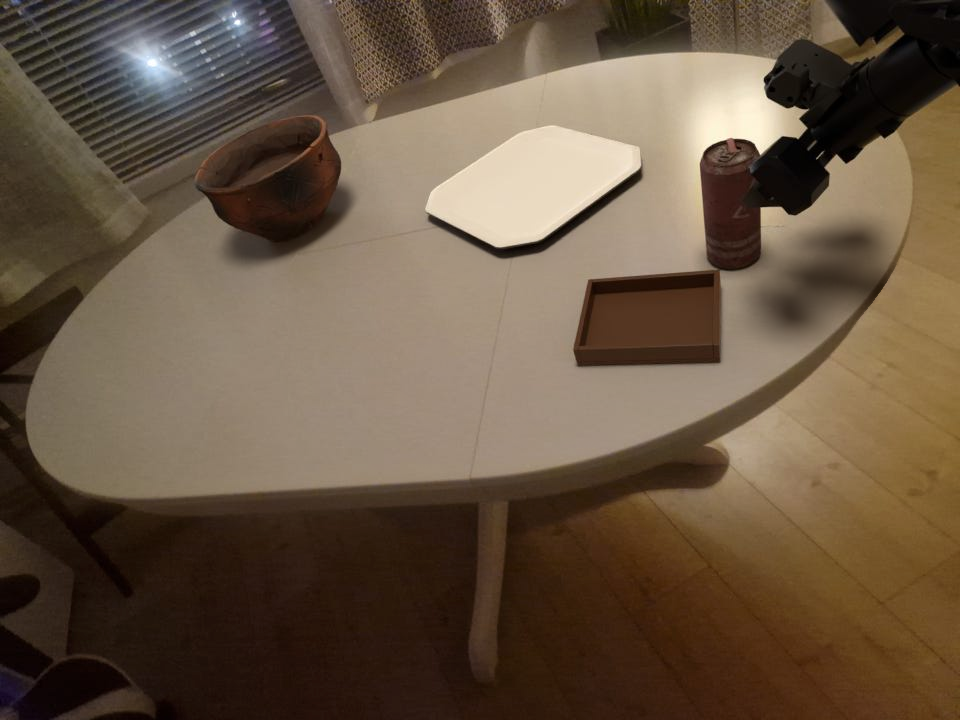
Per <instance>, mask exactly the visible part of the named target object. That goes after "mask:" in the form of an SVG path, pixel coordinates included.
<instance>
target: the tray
mask: <svg viewBox="0 0 960 720" xmlns="http://www.w3.org/2000/svg"><path fill="white" fill-rule="evenodd" d="M721 283H722V282H721V269H708V270H695V271H692V270H691V271H679V272H668V273H666V272H665V273H655V274H642V275H641V274H639V275H629V276H615V277H603V278H590V279H587V283H586V288H585V293H584V298H583V302H582V307H581V312H580V316H579V319H578V324H577V330H576V333H575V340H574V343H573V349H572V352H573V355H574V358H575V361H576V365H577V366H581V367H582V366H616V365H619V366H620V365H659V364H660V365H661V364H695V363H696V364H697V363H699V364H701V363H720V362H721V329H722V328H721V324H722V323H721V322H722V321H721V319H722V318H721V315H722V314H721V313H722V311H721V310H722V284H721Z"/></svg>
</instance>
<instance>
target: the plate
mask: <svg viewBox="0 0 960 720" xmlns="http://www.w3.org/2000/svg"><path fill="white" fill-rule="evenodd" d="M641 153H642V152H641V148H640V147H639V146H637V145H634V144H629V143H626V142H620V141H619V140H618V141H617V140H613V139H609V138H606V137H602V136H597V135H595V134H590V133H586V132H582V131H578V130H575V129H571V128H567V127H564V126H563V127H562V126H559V125H554V124H551V125H545V126H541V127H537V128H532V129H528V130H524V131H520V132H518V133H517V134H515V135H513V136H512V137H511V138H509V139H508V140H506V141H505V142H503V143H502V144H500V145H498V146H497V147H495V148H494V149H492V150H490V151H489V152H488V153H486V154H484V155H483V156H482V157H480V158H478V159H477V160H475V161H474V162H473V163H471V164H469V165H468V166H466V167H465V168H463V169H462V170H460V171H458V172H457V173H455V174H454V175H452V176H451V177H449V178H448V179H447V180H445V181H443V182H442V183H440V184H439V185H437V186H436V187H434V188H433V189H432V190H431V192H430V193H429V197H428V200H427V202H426V204H425V208H424V210H425V213H426V214H427V215H429V216H431V217H434V218H435V219H437V220H439V221H441V222H443V223H445V224H447V225H448V226H451V227H453V228H455V229H457V230H459V231H461V232H463V233H465V234H467V235H468V236H471V237H473V238H474V239H477V240H479V241H480V242H483V243H484V244H486V245H488V246H490V247H492V248H494V249H496V250H506V249H512V248H516V247H524V246H530V245H534V244H539V243H542V242H544V241H545V240H546V239H548V238H549V237H550V236H552V235H553V234H555V233H556V232H557V231H559V230H560V229H562V228H563V227H564V226H566V225H567V224H569V222H572V221H573V220H574V219H576V217H578V216H579V215H581V214H582V213H584V212H585V211H586V210H588V209H589V208H591V207H592V206H593V205H594V204H596V203H597V202H599V201H600V200H602V199H603V198H604V197H606V196H607V195H609V194H610V193H612V191H614V190H615V189H616V188H618V187H619V186H621V185H622V184H624V183H625V182H626V181H628V180H629V179H631V177H633V176H635V175H636V174H637V173H639V172H640V170H641V169H642V167H643V166H642V154H641Z"/></svg>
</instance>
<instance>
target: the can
mask: <svg viewBox="0 0 960 720" xmlns="http://www.w3.org/2000/svg"><path fill="white" fill-rule="evenodd" d="M760 155H761V153H760V151H759V149H758V147H757V146H756V143H754V142H753V141H752V140H749V139H745V138H733V137H729V138H726V139H724V140H719V141H716V142H715V143H712V144H711V145H709V146H707V148H706V149H705V150H704V151H703V153H702V156H701V158H700V161H699V174H700V175H699V176H700V187H701V198H702V211H703V224H704V236H705V251H706V256H707V260H709V261H710V262H711V263H712V264H713V265H714V266H715V267H717V268H720V269H724V270H736V269H743V268H745V267H747V266H750V265H751V264H753V263H754V262H755V261H756V260H757V258H758V257H759V256H760V254H761V252H762V251H761V250H762V210H761V209H762V208H746V207H745V206H744V205H743V204H742V203H741V199H742V198H743V196H744V195H745V194H746V193H747V192H748V190H749V189H750V188H751V187H752V185H753V184H754V183H755V182H756V179H755V178H754V177H753V176H752V175H751V174H750V165H751V164H752V163H753V162H754V161H755V160H756V159H757V158H758V157H759V156H760Z"/></svg>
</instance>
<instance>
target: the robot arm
mask: <svg viewBox="0 0 960 720" xmlns="http://www.w3.org/2000/svg"><path fill="white" fill-rule="evenodd" d="M823 2H824V3H825V4H826V6H827V7H828V8H829V10H830V11H831V13H832V14H833V15H834V17H836V19H837V21H839V23H840V24H841V26H842V27H843V28H844V30H845V31H846V33H847V34H848V35H849V36H850V38H851V39H852V41H853V42H854V43H855V44H856V45H857V46H858V47H859V48H861V47H863V46H864V45H865V44H867V43H868V42H869V41H870V40H871V41H872V42H873V43H874V44H875V46H877V45H879V44H881V43H883V42H884V41H885V40H887V39H888V38H890V37H891V36H893V35H894V34H895V33H897V32H898V31H899V30H900V31H901V32H902V33H903V34H902V35H901V36H900V37H899V38H898V39H896V40H894V42H893V43H891V44H890V45H889V46H888V47H887V48H885V49H884V50H883V51H882V52H880V53H879V54H878V55H876V56H875V55H873V56H871V58H869V57H868V56H867V57H865V58H864V59H863V60H862V61H854V62H853V63H852V64H851V63H849V62H848V61H846V60H844V58H843V57H842V56H841V55H839V54H837V53H835V52H833V51H831V50H829V49H827V48H825V47H823V46H821V45H819V44H817V43H815V42H813V41H811V40H810V39H805V38H798V39H796V40H795V41H793V42H792V43H791V44H790V45H789V46H788V47H787V48H785V49H784V50H783V52H782V53H780V54H779V55H778V56H777V58H776V61H775V62H774V64H773V67H772V68H771V70H770V71H769V72H768V73H767V74H766V75H765V76H764V77H763V84H764V86H763V90H764V92H765V96H766V98H767V100H770V101H772V102H774V103H775V104H777V105H779V106H781V107H783V108H784V109H787V110H788V109H792V108H794V107H795V108H797V109H799V110H804V111H805V110H806V111H805V112H804V113H803V114H801V116H799V118H798V120H799V121H800V122H801V123H802V124H803V125H804V127H806V129H805V130H804V132H802V133H801V135H799V137H795V136H787V135H786V136H785V135H782V136H780V137H779V138H778V139H777V140H775V141H774V142H773V143H771V145H769V146H768V147H767V148H766V149H765V150H764V151H763V152H762V153H760V156H759V157H758V158H757V159H756V160H755V161H754V162H753V163H752V164H751V165H750V174H751V175H752V176H753V177H754V178H755V179H756V182H755V183H754V184H753V185H752V187H751V188H750V189H749V190H748V192H747V193H746V194H745V195H744V196H743V198H742V199H741V203H742V204H743V205H744V206H745V207H746V208H761V209H762V208H782V209H783V211H784V212H785V213H786V214H787V215H789V216H793V217H794V216H795V217H797V216H798V215H800V214H801V213H803V212H804V211H806V210H808V209H810V208H811V207H812V206H813V205H814V204H815V203H816V201H817V200H818V199H819V198H820V197H821V196H822V195H823V194H824V192H825V191H826V190H827V189H828V188H829V187H830V177H831V173H830V172H829V171H828V169H826V167H827V166H828V164H829V163H830V162H831V161H833V159H834V158H835V157H836V156H838V157H839V159H840V160H841V161H842V162H843V163H844V164H845V165H847V164H849V163H851V162H852V161H853V160H855V159H856V158H857V157H858V156H859V155H860V154H861V152H862V151H863V150H864V149H865V147H866V146H868V145H869V144H872V142H874V141H876V140H877V139H879V138H880V137H882V138H883V140H885V139H886V138H888V137H890V136H891V135H892V134H894V133H895V132H896V131H897V130H898V129H899V128H900V127H901V125H902V124H903V123H904V122H905V121H906V120H907V119H908V118H910V117H912V116H913V115H914V114H916V113H917V112H918V111H920V110H922V109H923V108H925V107H927V106H928V105H929V104H931V103H933V102H934V101H935V100H937V99H939V98H940V97H941V96H943V95H944V94H945V93H947V92H949V91H950V90H952V89H954V87H956V86H958V87H959V88H960V0H823Z"/></svg>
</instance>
